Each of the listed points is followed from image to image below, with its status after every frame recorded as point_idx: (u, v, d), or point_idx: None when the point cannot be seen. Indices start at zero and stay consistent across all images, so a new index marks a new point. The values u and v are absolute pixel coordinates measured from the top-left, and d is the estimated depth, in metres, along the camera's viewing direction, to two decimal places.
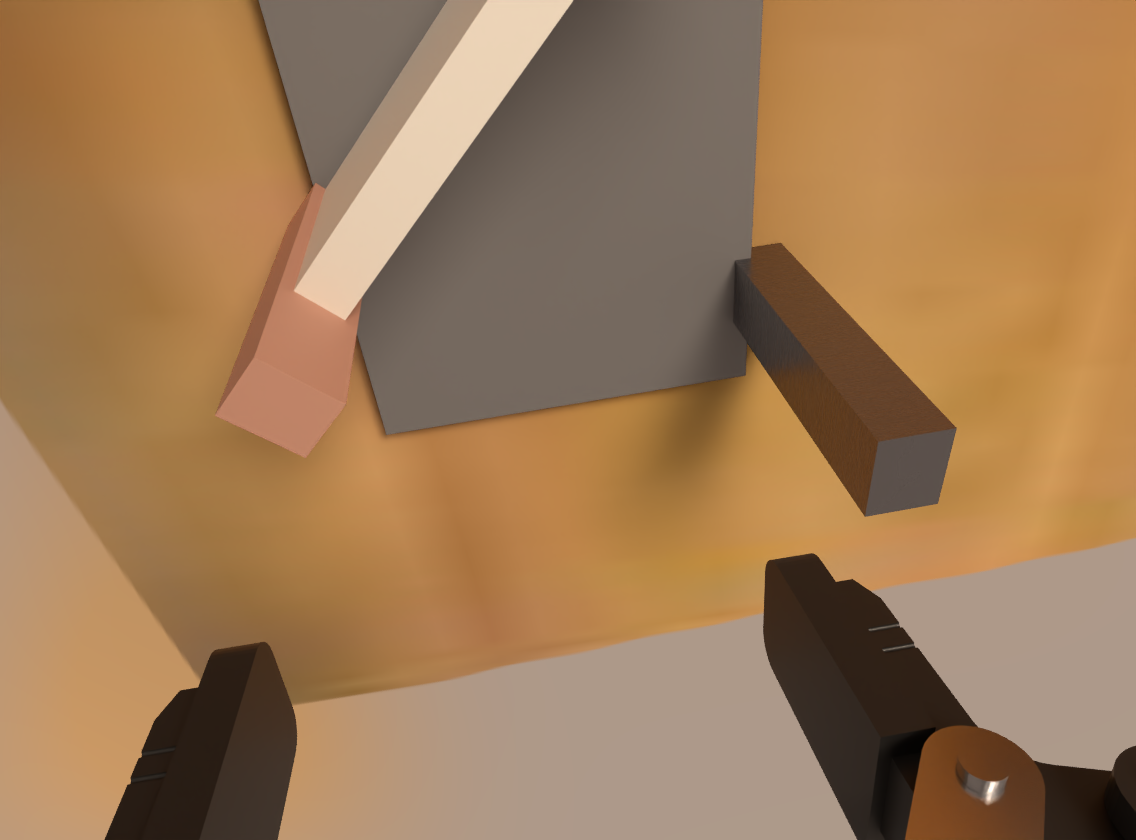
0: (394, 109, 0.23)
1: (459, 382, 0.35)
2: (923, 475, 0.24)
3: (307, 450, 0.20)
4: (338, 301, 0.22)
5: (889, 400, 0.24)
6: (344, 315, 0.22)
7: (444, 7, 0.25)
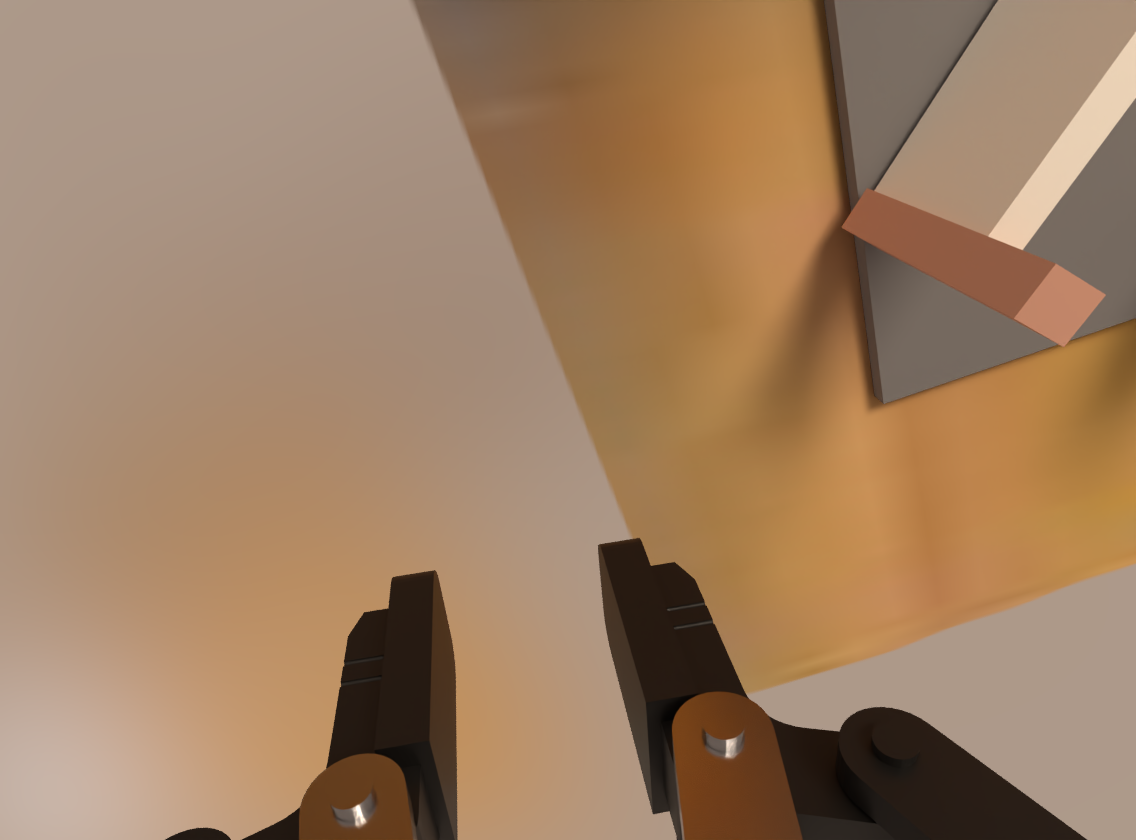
0: (1009, 97, 0.30)
1: (948, 345, 0.40)
2: None
3: (1067, 340, 0.26)
4: (1016, 241, 0.28)
5: None
6: None
7: (989, 26, 0.32)
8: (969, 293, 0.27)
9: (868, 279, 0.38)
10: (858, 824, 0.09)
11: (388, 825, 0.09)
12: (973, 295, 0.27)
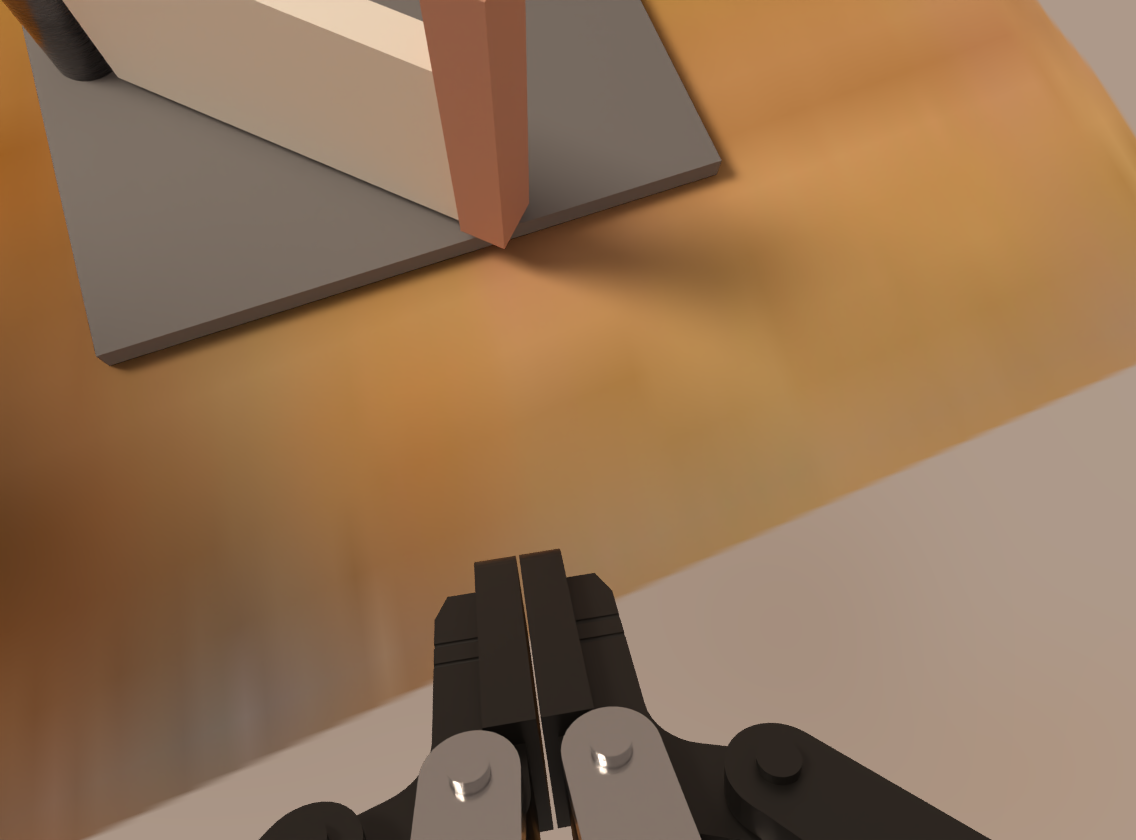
0: (331, 102, 0.28)
1: (643, 106, 0.35)
2: None
3: None
4: None
5: None
6: None
7: (298, 146, 0.32)
8: (488, 71, 0.22)
9: (567, 208, 0.33)
10: None
11: (509, 800, 0.09)
12: (488, 65, 0.22)
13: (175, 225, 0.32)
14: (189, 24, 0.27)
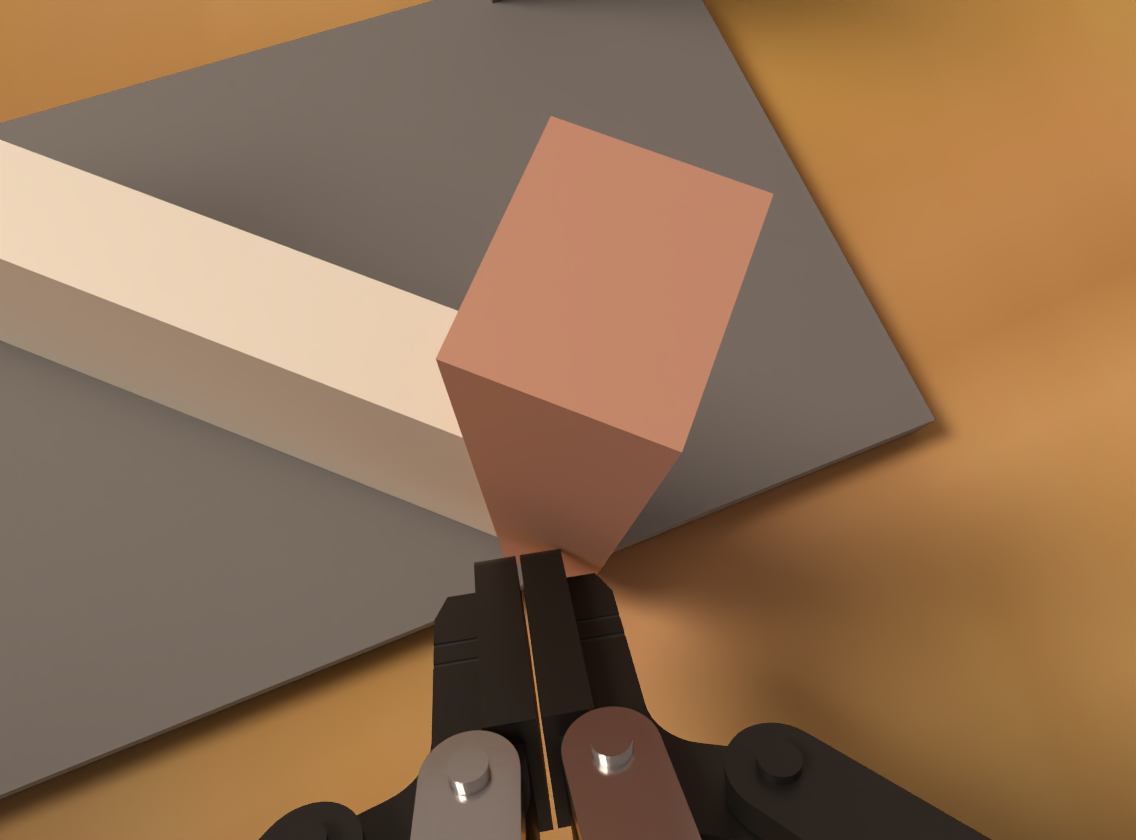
0: (248, 404, 0.14)
1: (794, 320, 0.20)
2: None
3: (742, 189, 0.06)
4: None
5: None
6: None
7: (205, 418, 0.18)
8: (636, 510, 0.08)
9: (677, 523, 0.19)
10: None
11: (508, 800, 0.09)
12: (639, 505, 0.08)
13: None
14: None
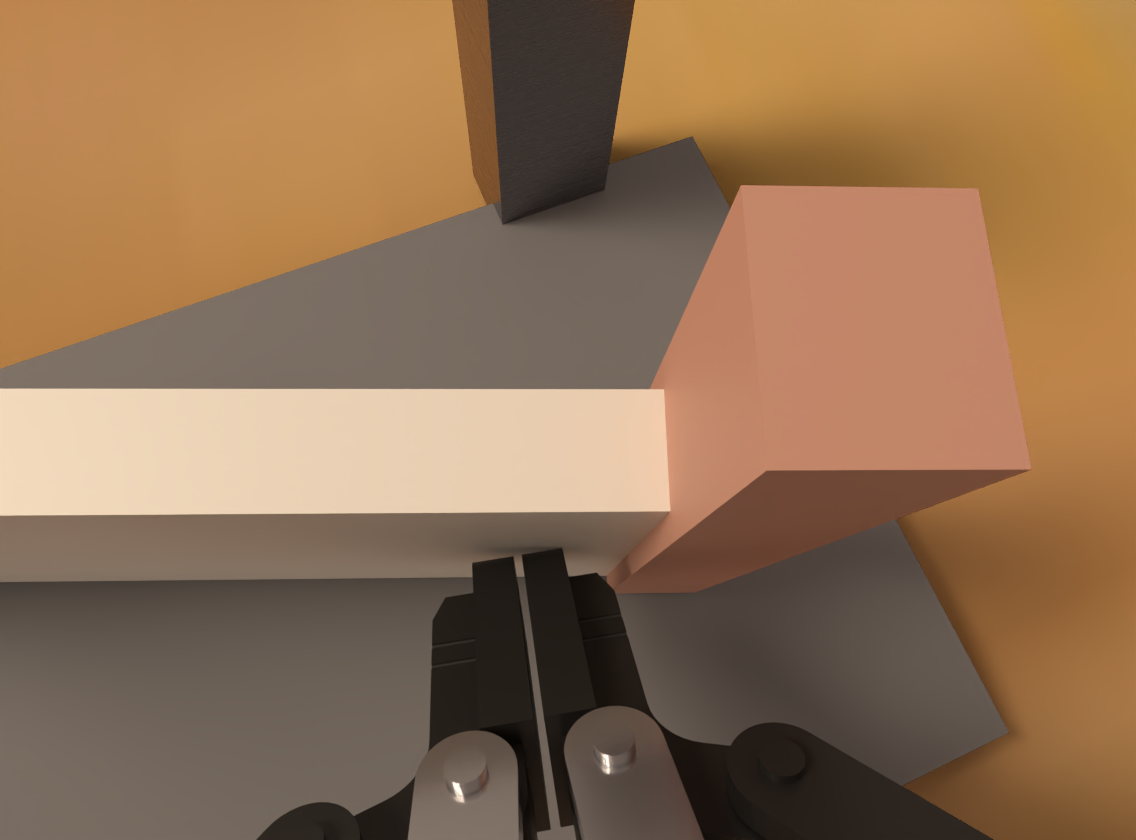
0: (341, 552, 0.13)
1: (848, 612, 0.18)
2: None
3: (950, 194, 0.06)
4: (633, 422, 0.10)
5: None
6: (654, 396, 0.10)
7: (258, 577, 0.17)
8: (881, 522, 0.08)
9: None
10: None
11: (506, 800, 0.09)
12: (890, 518, 0.08)
13: None
14: None
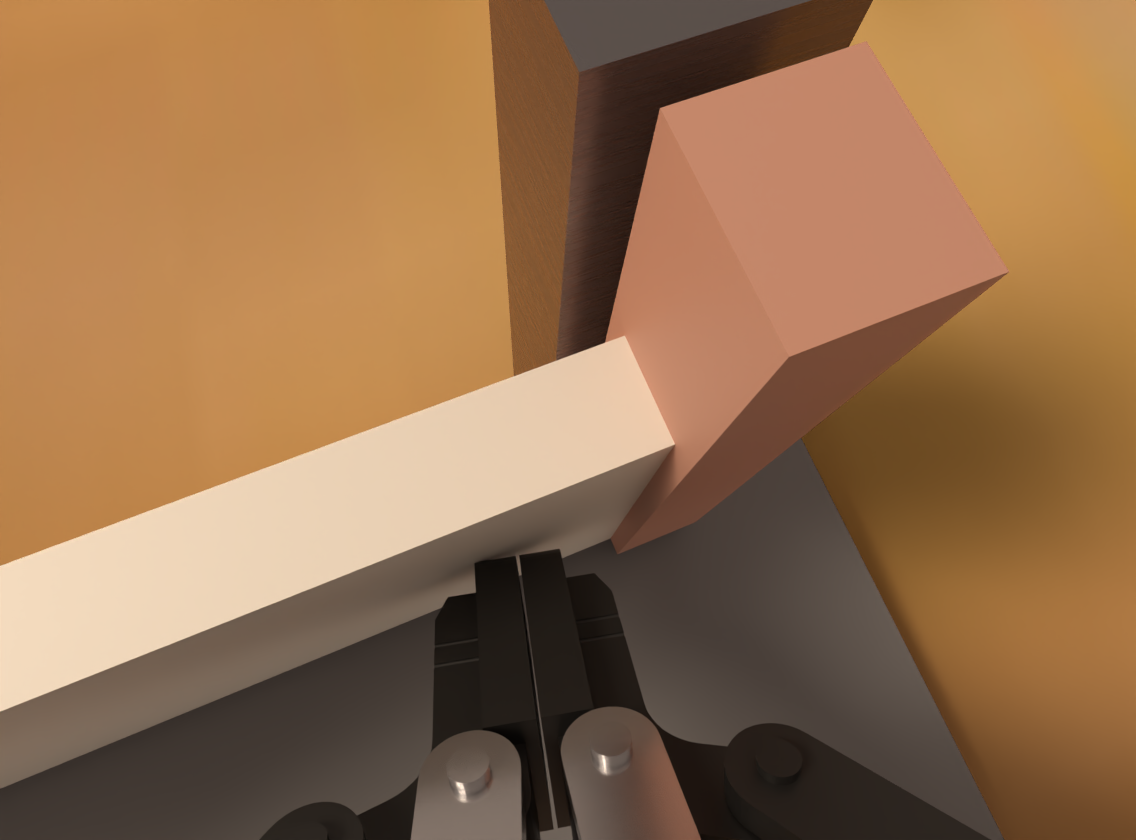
0: (364, 610, 0.13)
1: None
2: None
3: (844, 53, 0.07)
4: (609, 376, 0.10)
5: (525, 100, 0.09)
6: (619, 345, 0.10)
7: (280, 671, 0.16)
8: (873, 378, 0.09)
9: None
10: None
11: (509, 800, 0.09)
12: (882, 370, 0.08)
13: None
14: None
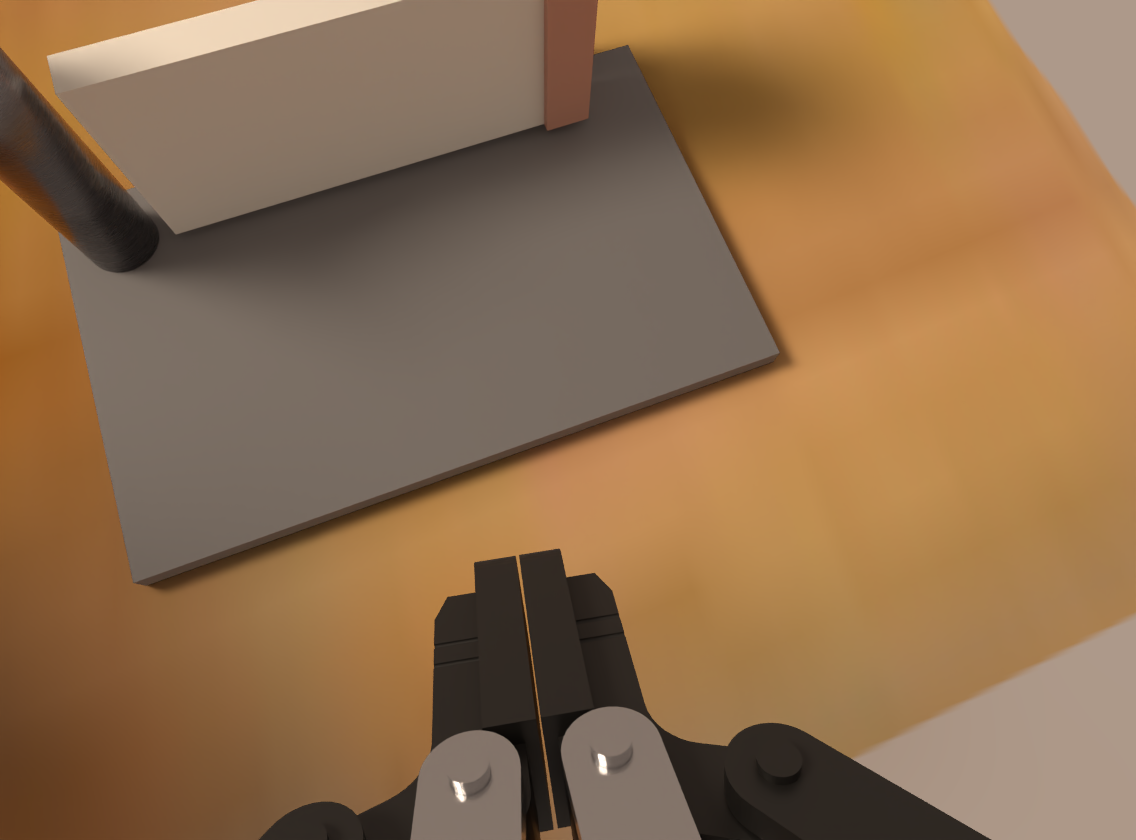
0: (425, 79, 0.30)
1: (697, 292, 0.33)
2: None
3: None
4: None
5: None
6: None
7: (378, 164, 0.34)
8: None
9: (620, 409, 0.32)
10: None
11: (509, 800, 0.09)
12: None
13: (213, 433, 0.31)
14: (280, 95, 0.28)
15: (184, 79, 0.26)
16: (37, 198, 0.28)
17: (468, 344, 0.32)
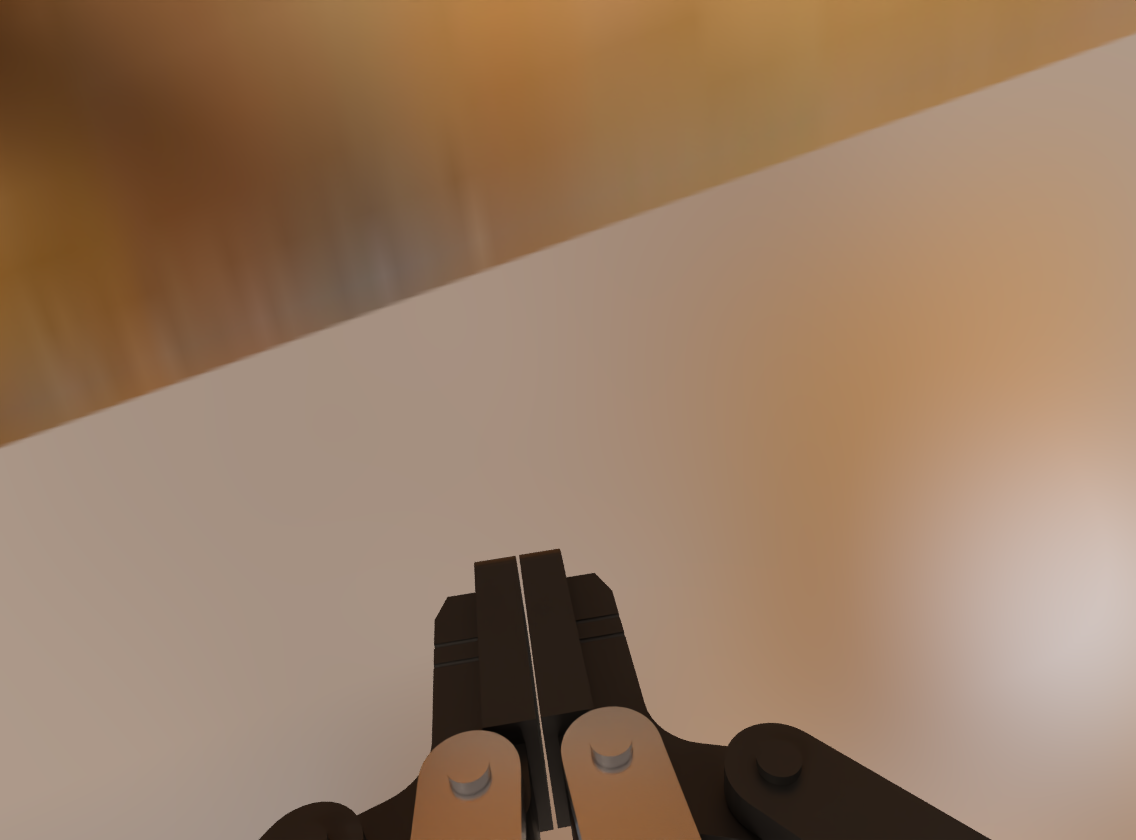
0: None
1: None
2: None
3: None
4: None
5: None
6: None
7: None
8: None
9: None
10: None
11: (509, 800, 0.09)
12: None
13: None
14: None
15: None
16: None
17: None
